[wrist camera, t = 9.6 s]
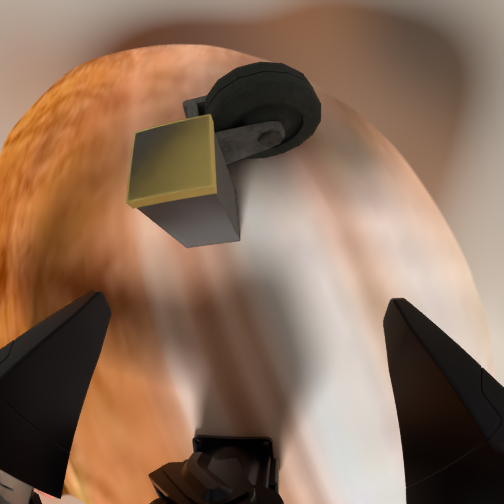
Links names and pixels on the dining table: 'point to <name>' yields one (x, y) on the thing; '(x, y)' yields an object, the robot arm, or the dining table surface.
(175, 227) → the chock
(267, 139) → the caster wheel
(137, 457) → the dining table surface
